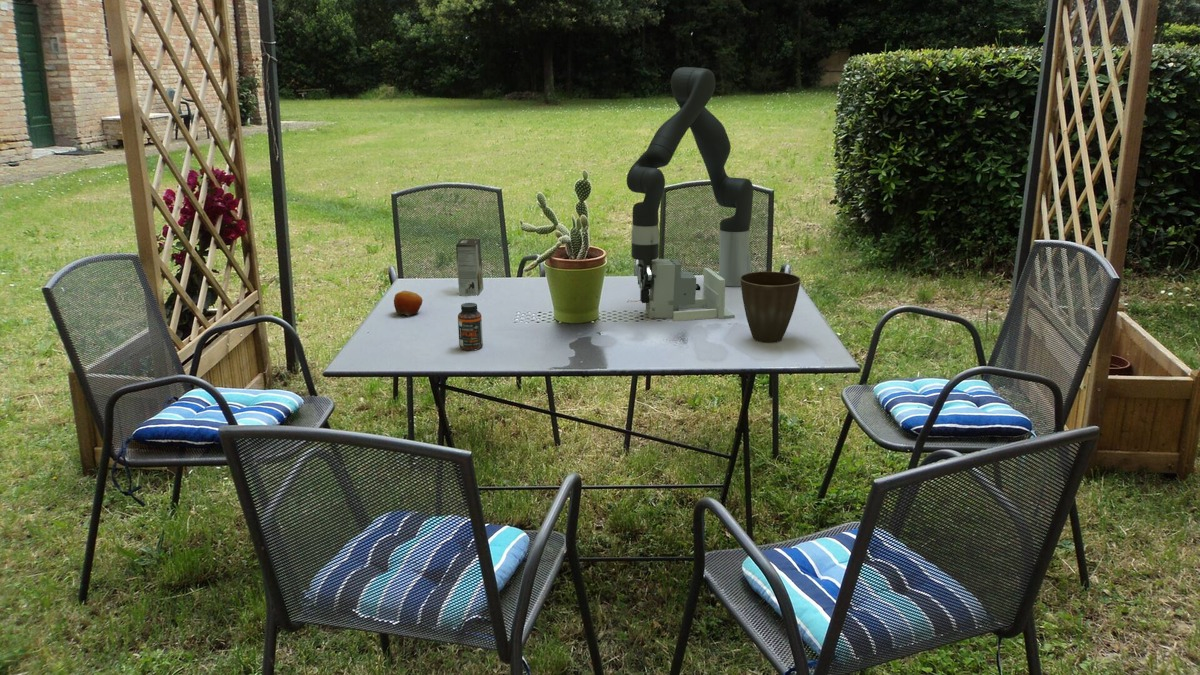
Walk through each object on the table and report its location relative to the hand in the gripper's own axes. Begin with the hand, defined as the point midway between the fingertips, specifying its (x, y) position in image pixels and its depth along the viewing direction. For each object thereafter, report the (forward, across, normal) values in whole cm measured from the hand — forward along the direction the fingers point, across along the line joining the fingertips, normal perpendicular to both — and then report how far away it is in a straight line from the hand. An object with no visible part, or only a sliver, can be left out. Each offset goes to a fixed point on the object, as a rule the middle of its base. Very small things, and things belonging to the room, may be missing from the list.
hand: (644, 302), depth 257 cm
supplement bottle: (+5, -17, +49) cm, 52 cm away
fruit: (+5, +19, +65) cm, 68 cm away
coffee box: (+5, +40, +46) cm, 61 cm away
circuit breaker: (+4, 0, -8) cm, 9 cm away
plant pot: (+4, -28, -26) cm, 38 cm away
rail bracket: (+4, 0, -15) cm, 16 cm away
